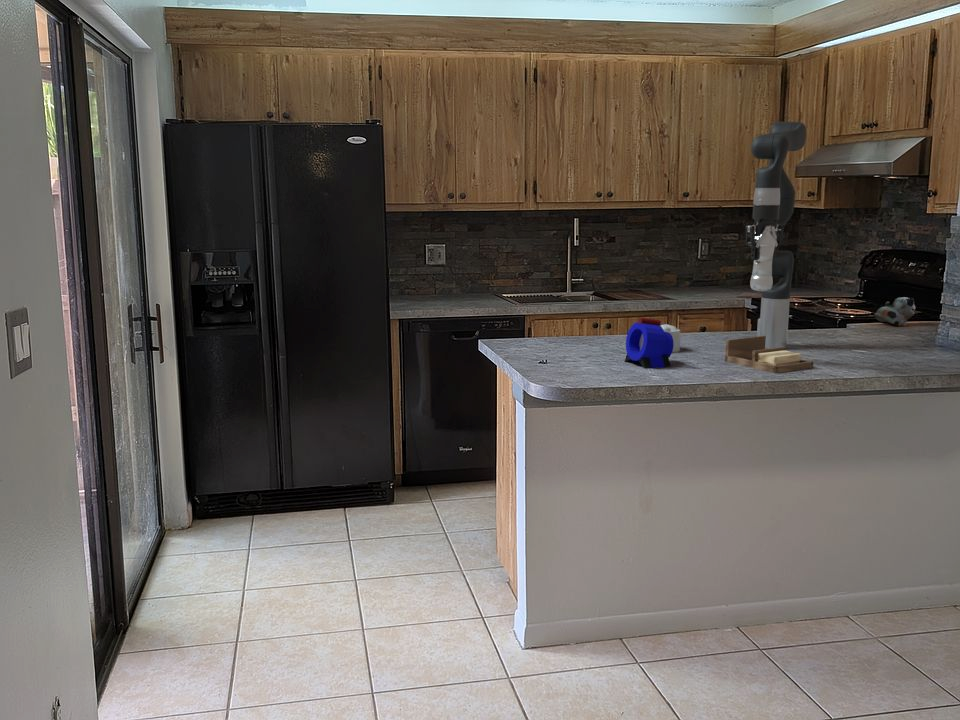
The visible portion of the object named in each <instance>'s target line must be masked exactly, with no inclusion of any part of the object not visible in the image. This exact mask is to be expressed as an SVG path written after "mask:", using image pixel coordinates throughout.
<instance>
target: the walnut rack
mask: <svg viewBox="0 0 960 720" xmlns="http://www.w3.org/2000/svg"><path fill="white" fill-rule="evenodd" d="M765 341H766V336H757V335H756V336H750V337H749V336H747V337H742V338H741V337H739V338H731V339H726V340H725V354H724V355H725V357H724V362H726V363H730V364H733V365H739V366H742V367H743V366H744V367H747V368H751V369H756V370H760V371H763V372H768V373H773V374H779V373H786V372H793V371H799V370H807V369H813V368H814V361H810V360H806V359H801V360H800V363H795V364H788V365H780V366H774V365H770V364H765V363H761V362H758V353H766V352H774V351H783V350H785V351H787V350H786V349H787V346H786V347H779V348H771V349H766V348H765Z"/></svg>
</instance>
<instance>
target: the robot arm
mask: <svg viewBox="0 0 960 720" xmlns="http://www.w3.org/2000/svg"><path fill="white" fill-rule="evenodd" d="M806 140H807V127H806V125H805V123H803V122H801V121H774V122H773V123H772V125H771V127H770V130H769V133H763V134H759V135H757V136H755V137H754V139H753V140H752V142H751V145H750V152H751V155H752V156H753V157H754V158H755V159H758V160H768V166H764V167H761V168H758V169H757V170H756V174H755V185H754V186H755V189H754V195H753V203H752V204H753V205H752V219H753V220H754V222H753V224H752V225H751V224H750V225H746V226H745V245H746V246H749V247H750V258H751V261H754V260H758V259H759V248H758V247H759V245H760V241H762V240H763V239H764V236H765V234H766V232H767V231H768V226H765V225H771V234H772V236H773V237H774V239H775V248H774V253H773V259H772V279H774V278H775V279H777V278H778V279H779V278H780V279H779V281H778V282H776V283H775V284H772V288H771V289H770V290H767V291H762V292H761V301H760V316H759V318H757V326H756V327H757V329H756V336H766V341H765V349H771V348H779V347H786V348H787V343H788V333H789V332H788V330H789V317H790V316H789V315H790V301H791V289H792V279H793V272H794V266H795V265H794V262H795V261H794V259H795V258H794V254H793V252H792V251H790V250H777V247H778V246H779V245H782V244H783V237H784V230H785V225H786V224H787V223H788V221H789V220H790V218H791V217H792V215H793V214H794V211H795V210H794V209H795V201H796V198H795V197H796V190H795V188H794V185H793V184H792V181H791V180H790V178H789V176H788V175H787V173H786V171H785V169H784V163H785V160H786V158H787V155H788V152H798V151H800V150H802V149H803V148H804V146H805V143H806ZM757 236H760V237H757ZM755 240H757V242H756V243H755Z"/></svg>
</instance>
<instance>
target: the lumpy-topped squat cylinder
mask: <svg viewBox="0 0 960 720" xmlns="http://www.w3.org/2000/svg"><path fill="white" fill-rule="evenodd" d="M660 326H661V327H662V328H663V330H664V332H669V333H670V334H671V335H672V337H673V342H674V345H673V351H672V353H679V352H681V329H678V328H677V326H675V325H671V324H667V323H665V324H660Z"/></svg>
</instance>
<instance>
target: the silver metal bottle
mask: <svg viewBox="0 0 960 720" xmlns="http://www.w3.org/2000/svg"><path fill="white" fill-rule="evenodd" d="M765 226H768V231H767V232H766V234H765V236H764V239H763V240H762V241H760V245H759V247H758V248H759V259H758V260H753V265H752V273H751V277H750V281H749V284H750V285H749V286H750V288H751V290H753V291H756V292H761V293H762V291H767V290H770V289H771V288H772V286H773V285H774V284H773V283H774V281H773V279H774V278H772V259H773V253H774V248H775V239H774V237H773V236H772V234H771V225H765ZM757 237H760V236H757ZM756 242H757V240H755V243H756Z"/></svg>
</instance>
